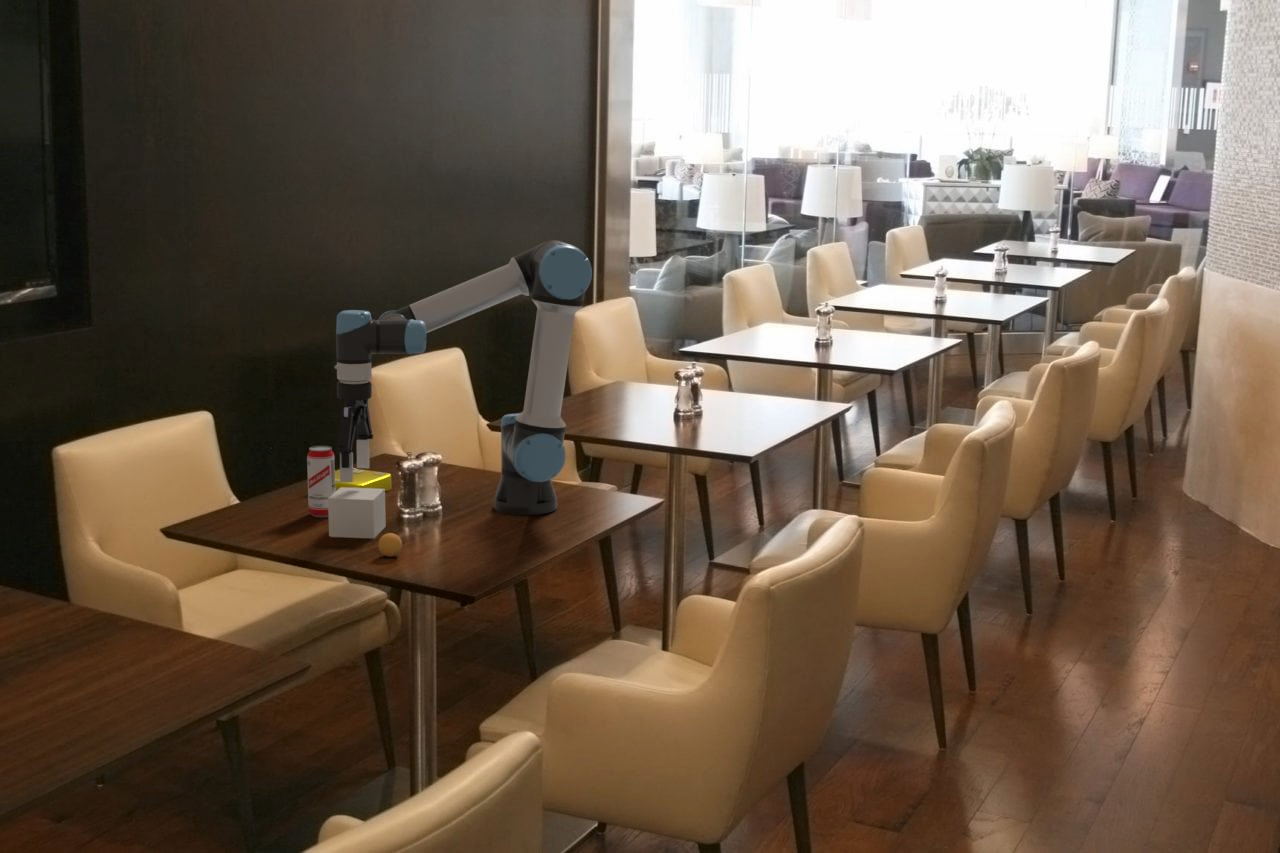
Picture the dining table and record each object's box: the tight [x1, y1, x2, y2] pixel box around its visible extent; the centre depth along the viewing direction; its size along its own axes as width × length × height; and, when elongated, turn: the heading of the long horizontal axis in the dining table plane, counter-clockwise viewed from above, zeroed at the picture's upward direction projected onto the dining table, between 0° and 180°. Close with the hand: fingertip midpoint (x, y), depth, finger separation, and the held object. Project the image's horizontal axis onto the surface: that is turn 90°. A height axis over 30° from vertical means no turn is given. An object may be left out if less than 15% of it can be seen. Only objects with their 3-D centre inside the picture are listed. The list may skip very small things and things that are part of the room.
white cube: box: [328, 487, 387, 539], centre depth 336 cm, size 10×10×9 cm
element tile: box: [335, 467, 392, 492], centre depth 372 cm, size 15×15×5 cm
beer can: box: [306, 445, 336, 518], centre depth 349 cm, size 6×6×16 cm
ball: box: [377, 532, 403, 558], centre depth 318 cm, size 5×5×5 cm
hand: (355, 474), depth 334 cm, fingers open, 13 cm apart
